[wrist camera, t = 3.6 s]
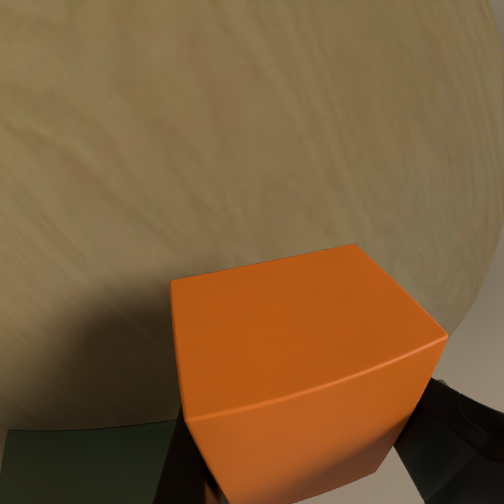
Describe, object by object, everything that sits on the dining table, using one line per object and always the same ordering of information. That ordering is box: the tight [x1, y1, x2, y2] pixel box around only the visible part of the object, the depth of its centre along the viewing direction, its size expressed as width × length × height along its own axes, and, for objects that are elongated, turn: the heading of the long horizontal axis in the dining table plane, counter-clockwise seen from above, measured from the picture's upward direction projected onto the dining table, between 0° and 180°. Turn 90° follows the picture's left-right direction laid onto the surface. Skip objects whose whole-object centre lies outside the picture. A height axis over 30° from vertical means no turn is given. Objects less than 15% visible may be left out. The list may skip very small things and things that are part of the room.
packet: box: [169, 244, 448, 504], centre depth 8 cm, size 5×7×4 cm
